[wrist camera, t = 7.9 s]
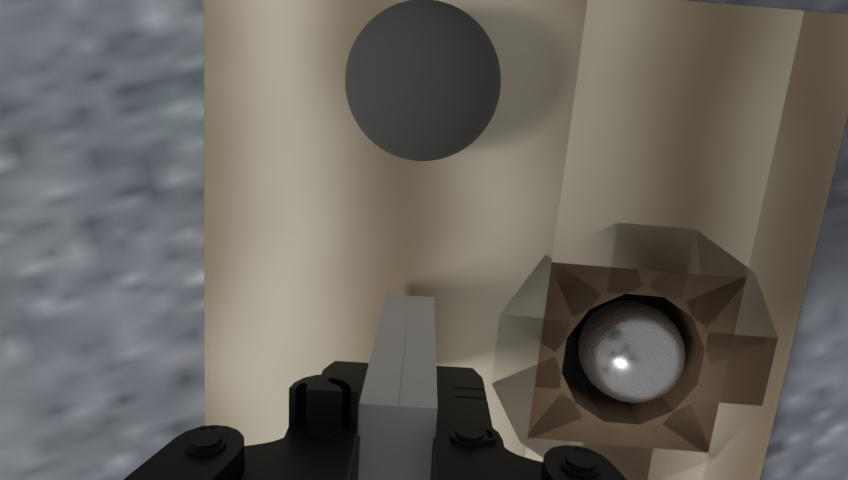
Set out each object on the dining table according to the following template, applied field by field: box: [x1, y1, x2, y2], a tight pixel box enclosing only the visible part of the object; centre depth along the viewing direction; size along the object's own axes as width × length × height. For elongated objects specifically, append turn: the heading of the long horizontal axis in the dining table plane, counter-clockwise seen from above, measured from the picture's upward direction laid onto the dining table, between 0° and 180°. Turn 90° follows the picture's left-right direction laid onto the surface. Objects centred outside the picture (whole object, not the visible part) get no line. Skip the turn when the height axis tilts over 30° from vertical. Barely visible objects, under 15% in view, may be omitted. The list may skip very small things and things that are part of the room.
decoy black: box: [345, 0, 501, 161], centre depth 14 cm, size 4×4×4 cm
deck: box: [204, 0, 848, 480], centre depth 19 cm, size 19×22×2 cm
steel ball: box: [578, 301, 685, 403], centre depth 19 cm, size 3×3×3 cm
